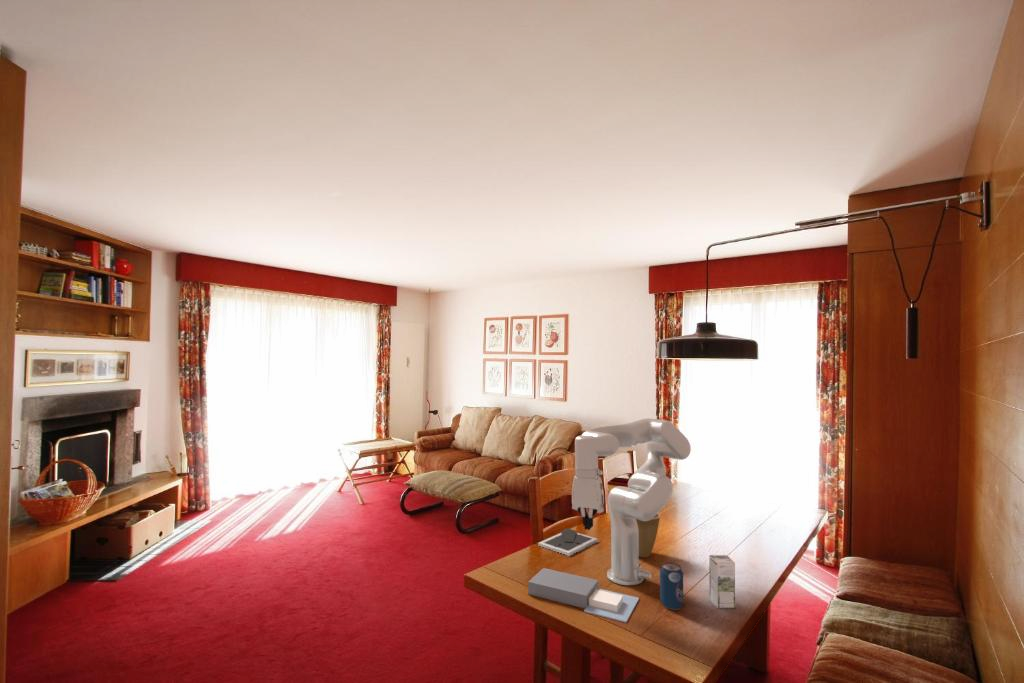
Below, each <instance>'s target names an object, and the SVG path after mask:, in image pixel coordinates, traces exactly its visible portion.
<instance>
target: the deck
mask: <svg viewBox="0 0 1024 683" xmlns="http://www.w3.org/2000/svg"><path fill="white" fill-rule="evenodd" d="M527 583H528V584H527V586H528V589H527V590H528V592H527V593H528V595H530V596H535V597H538V598H542V599H545V600H546V599H547V600H549V601H554V602H558V603H562V604H565V605H570V606H573V607H577V608H582V609H584V610H585V608H586V607H587V606H588V604H589V598H590V596H591V595H592V594H593V592H594V591H595V590H599V579H594V578H589V577H585V576H581V575H576V574H572V573H569V572H563V571H558V570H554V569H549V568H546V567H545V568H544V567H543V568H542V569H540V570H539V572H537V573H536V574H535V575H534V576H533V577H532V578H530V580H528V581H527Z"/></svg>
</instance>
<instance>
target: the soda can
mask: <svg viewBox="0 0 1024 683" xmlns="http://www.w3.org/2000/svg"><path fill="white" fill-rule="evenodd" d="M682 570H683V569H682V568H681V565H679V564H677V563H675V562H674V563H673V562H664V563H662V564H661V568H660V569H659V588H660V589H659V594H660V595H659V600H660V602H661V604H662V606H663V607H664V608H666V609H669V610H673V611H674V610H675V611H676V610H677V611H678V610H680V609H682V607H683V606H684V603H685V602H684V572H683V571H682Z"/></svg>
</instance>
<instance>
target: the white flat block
mask: <svg viewBox="0 0 1024 683" xmlns="http://www.w3.org/2000/svg"><path fill="white" fill-rule="evenodd" d="M622 603H623V596H622V595H618V594H614V593H609V592H605V591H601V590H600V589H598V590H595V591H594V592H593V594H592V595H591V596H590V598H589V605H590V606H594V607H598V608H602V609H606V610H610V611H614V612H618V610H619V608H620V607H621V605H622Z"/></svg>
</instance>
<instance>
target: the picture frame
mask: <svg viewBox="0 0 1024 683" xmlns="http://www.w3.org/2000/svg"><path fill="white" fill-rule="evenodd" d="M598 539H599V538H596V537H593V536H589V535H587V534H582V533H579V532H577V530H574V529H570V528H565V529H563V530H561V531H560V533H558V534H556V535H555V534H554V535H553V536H551V537H549V538H546V539H544V540H542V541H540V542H538V543H537V544H538V547H539V546H541V547H540V548H542V547H544V548H543V549H545V548H547V549H546V550H548V549H550V550H549V551H551V550H553V551H552V552H554V551H556V552H555V553H557V552H559V553H558V554H560V553H562V554H561V555H563V554H565V555H564V556H566V555H567V557H571V556H573V555H575V554H577V553H579V552H581V551H583V550H585V549H586V547H587V548H588V546H589V547H591V546H593V545H594V544H597V543H598V542H599V540H598ZM576 552H577V553H576ZM574 553H575V554H574Z"/></svg>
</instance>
